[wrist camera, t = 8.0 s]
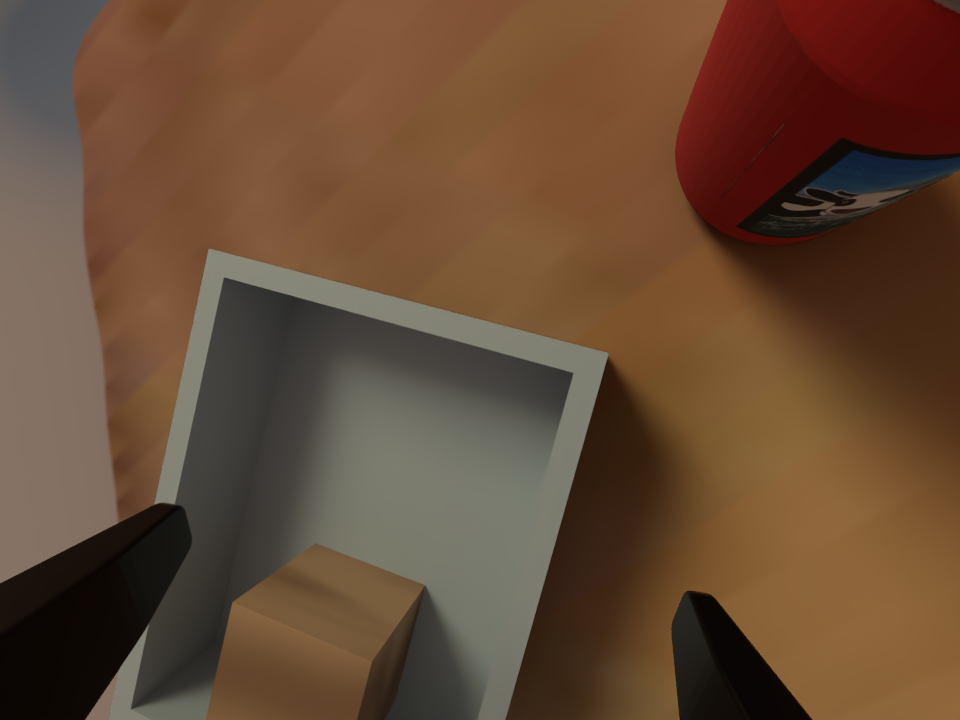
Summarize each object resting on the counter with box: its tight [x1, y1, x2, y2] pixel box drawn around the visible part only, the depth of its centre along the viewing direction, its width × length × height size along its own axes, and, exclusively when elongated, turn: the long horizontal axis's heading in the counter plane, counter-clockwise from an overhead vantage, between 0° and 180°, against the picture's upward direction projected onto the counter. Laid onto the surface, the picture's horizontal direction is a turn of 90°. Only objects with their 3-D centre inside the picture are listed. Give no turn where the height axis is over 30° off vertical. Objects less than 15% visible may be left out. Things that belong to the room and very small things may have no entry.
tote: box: [109, 249, 609, 720], centre depth 19 cm, size 18×14×5 cm
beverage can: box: [675, 0, 960, 245], centre depth 12 cm, size 7×7×12 cm
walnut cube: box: [206, 543, 425, 720], centre depth 18 cm, size 5×5×5 cm
